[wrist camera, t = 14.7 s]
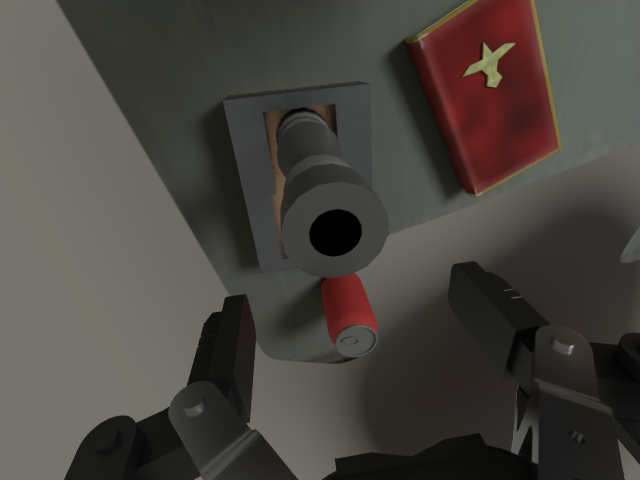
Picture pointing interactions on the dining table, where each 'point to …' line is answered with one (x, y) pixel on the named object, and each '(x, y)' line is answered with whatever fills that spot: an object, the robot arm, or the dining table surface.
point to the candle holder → (325, 201)
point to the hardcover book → (488, 90)
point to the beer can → (349, 315)
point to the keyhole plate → (261, 148)
